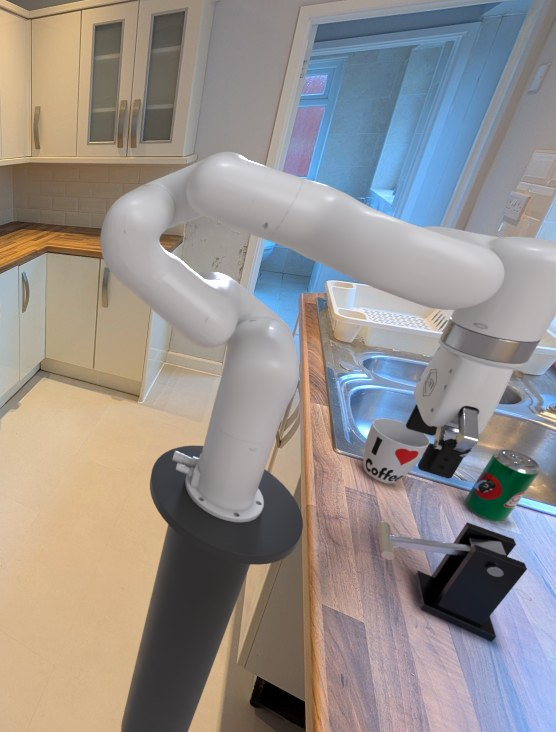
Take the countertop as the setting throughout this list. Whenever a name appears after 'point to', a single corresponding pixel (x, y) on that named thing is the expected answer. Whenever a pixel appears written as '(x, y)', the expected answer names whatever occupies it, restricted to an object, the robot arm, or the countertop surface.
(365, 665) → the countertop surface
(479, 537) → the bracket
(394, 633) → the countertop surface
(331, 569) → the countertop surface
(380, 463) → the cup
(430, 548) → the tap lever
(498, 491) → the soda can
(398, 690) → the countertop surface
